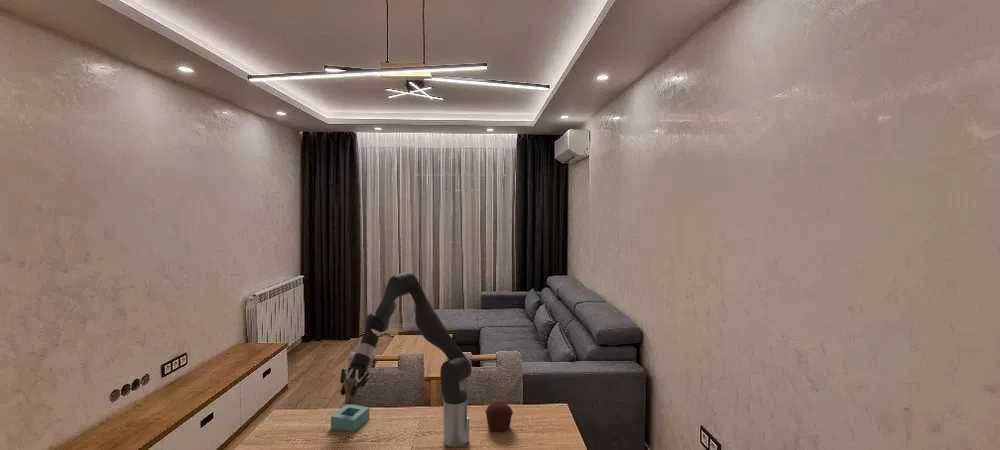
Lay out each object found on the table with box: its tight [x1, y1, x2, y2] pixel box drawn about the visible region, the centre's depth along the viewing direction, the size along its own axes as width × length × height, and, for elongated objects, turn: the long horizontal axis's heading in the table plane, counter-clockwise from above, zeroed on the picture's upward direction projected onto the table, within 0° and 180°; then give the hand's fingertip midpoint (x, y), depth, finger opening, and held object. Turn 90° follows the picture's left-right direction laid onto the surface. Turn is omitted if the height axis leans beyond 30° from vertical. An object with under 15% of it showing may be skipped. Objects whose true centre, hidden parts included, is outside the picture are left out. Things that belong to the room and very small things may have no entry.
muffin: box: [484, 401, 514, 433], centre depth 183 cm, size 12×11×10 cm
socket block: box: [330, 404, 370, 433], centre depth 186 cm, size 11×11×5 cm
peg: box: [344, 377, 356, 405], centre depth 185 cm, size 4×4×10 cm
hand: (346, 395), depth 183 cm, fingers closed on peg, 4 cm apart
